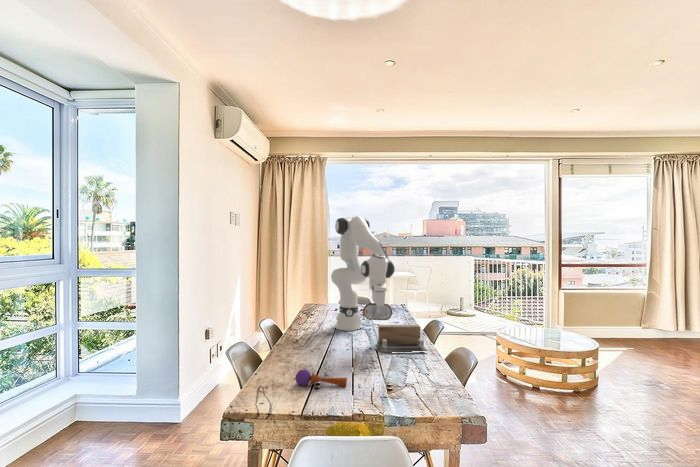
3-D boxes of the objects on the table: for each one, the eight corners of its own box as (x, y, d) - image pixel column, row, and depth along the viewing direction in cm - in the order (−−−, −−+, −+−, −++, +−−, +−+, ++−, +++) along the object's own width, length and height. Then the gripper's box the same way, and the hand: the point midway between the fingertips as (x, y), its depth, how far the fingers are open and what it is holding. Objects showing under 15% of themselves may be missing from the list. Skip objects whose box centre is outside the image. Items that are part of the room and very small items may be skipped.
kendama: (346, 379, 131) (294, 374, 132) (345, 394, 132) (293, 388, 133) (347, 371, 137) (297, 365, 138) (346, 384, 138) (296, 379, 139)
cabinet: (377, 344, 190) (377, 324, 190) (418, 343, 191) (418, 324, 191) (382, 353, 174) (382, 332, 174) (427, 353, 175) (427, 332, 175)
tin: (392, 319, 180) (392, 303, 181) (392, 320, 177) (392, 303, 178) (363, 319, 181) (363, 302, 182) (363, 320, 178) (363, 303, 179)
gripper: (369, 283, 190) (369, 308, 190) (374, 288, 169) (374, 316, 169) (381, 283, 190) (380, 308, 190) (387, 288, 170) (386, 316, 169)
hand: (377, 312), depth 179 cm, fingers closed on tin, 3 cm apart
